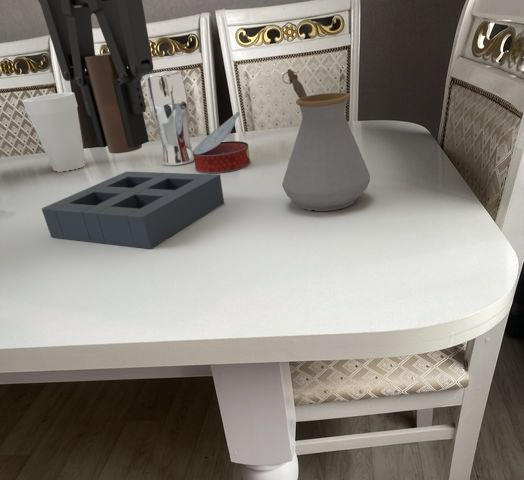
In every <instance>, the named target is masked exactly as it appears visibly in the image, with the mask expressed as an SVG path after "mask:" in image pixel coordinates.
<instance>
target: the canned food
mask: <svg viewBox="0 0 524 480" xmlns="http://www.w3.org/2000/svg"><path fill="white" fill-rule="evenodd" d="M239 116H240V112H239V111H236V112H235V114H233V115H232V116H231V117H230V118H228V119H227V120H225V121H224V122H223V123H222V124H221V125H219V127H217V128H216V129H214V130H213V131H212V132H211V133H209V134H208V135H206V137H205V138H204V139H203V140H201V141H200V142H199V143H198V144H197V145H196V147H194V149H192V150H193V156H194V161H193V162H194V167H195V171H196V172H197V173H200V174H222V173H223V174H224V173H230V172H235V171H238V170H242V169H244V168H246V167H247V166H249V165H250V164H251V156H250V148H249V143H248V142H245V141H240V140H238V141H237V140H230V141H228V140H227V141H225V140H226V139H227V138H228V136H229V135H230V134H231V132H232V131H233V129H234V127H235V124H236V122H237V121H236V120H237V118H238V117H239Z"/></svg>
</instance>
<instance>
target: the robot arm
mask: <svg viewBox="0 0 524 480" xmlns="http://www.w3.org/2000/svg"><path fill="white" fill-rule="evenodd" d="M37 1H38V3H39V5H40V7H41V11H42V14H43V18H44V20H45V24H46V27H47V30H48V34H49V37H50V40H51V43H52V47H53V50H54V54H55V56H56V60H57V63H58V67H59V70H60V72H61V76H62V78H63V80H64V81H65V82H73V83H75V84H76V85H77V86H78V87H79V89H80V91H81V95H82V100H83V102H84V106H85V110H86V113H87V115H88V116H89V117H91V120H92V124H93V128H94V132H95V135H96V139H97V143H98V147H99V148H106V147H107V143H106V139H105V135H104V131H103V128H102V124H101V120H100V116H99V112H98V108H97V104H96V100H95V97H94V93H93V89H92V85H91V81H90V77H89V73H88V69H87V66H86V62H85V58H84V57H86V56H92V55H96V49H95V41H94V40H95V39H94V32H93V31H94V30H93V22H92V15H93V14H94V15H95V18H96V20H97V22H98V23H97V24H98V25H99V28H100V30H101V34H102V36H103V39H104V41H105V44H106V47H107V49H108V53H110V55H111V58H112V60H113V63H114V66H115V68H116V71H117V74H118V76H119V79H117V80H115V81H116V83H117V84H118V85H115V88H116V92H117V96H118V100H119V104H120V109H121V113H122V117H123V121H124V125H125V130H126V134H127V138H128V142H129V147H137V146H139V145H142V146H143V145H144V144H147V143H149V142H150V139H149V135H148V129H147V126H146V121H145V120H146V119H145V116H144V113H146V111H147V110H146V109H147V105H146V102H145V101H146V100H145V97H144V92H143V87H142V78H143V77H144V76H145V75H147V74H151V73H152V72H153V71H154V61H153V56H152V50H151V45H150V39H149V34H148V32H149V31H148V27H147V21H146V15H145V10H144V4H143V0H37Z"/></svg>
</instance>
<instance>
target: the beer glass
mask: <svg viewBox="0 0 524 480" xmlns="http://www.w3.org/2000/svg"><path fill="white" fill-rule="evenodd" d="M143 77H144V84H145V92H146V97H147V98H146V99H147V102H148V107H149V111H150V114H151V118H152V120H153V122H154V126H155V128H156V130H157V133H158V136H159V140H160V144H161V148H162V163H163V165H165V166H169V167H170V166H181V165H187V164H190V163H192V162H194V156H193V150H194V149H193V148H192V144H191V139H190V119H189V112H190V111H189V102H188V95H187V90H186V86H185V82H184V77H183V73H182V70H177V69H176V70H165V71H164V70H163V71H158V72H154V73H152V72H151V73H148V74H146V75H145V76H143Z"/></svg>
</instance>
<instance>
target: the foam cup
mask: <svg viewBox="0 0 524 480" xmlns="http://www.w3.org/2000/svg"><path fill="white" fill-rule="evenodd" d="M22 104H23V107H24V110H25V114H26V116H28V118H29V121H30V122H31V124H32V126H33V128H34V131H35V133H36V135H37V137H38V139H39V141H40V144H41V147H42V148H43V151H44V153H45V155H46V157H47V159H48V161H49V164H50V166H51V168H52V170H53V171H54V172H55V171H57V172H56V173H64V172H63V171H66V172H70V171H69V170H72V171H75V170H74V169H76V170H79V169H78V168H80V169H81V167H82V168H84V167H86V165H85V164H86V158H85V157H86V156H85V151H84V144H83V143H84V142H83V137H82V131H81V123H80V117H79V111H78V107H79V105H78V102H77V99H76V95H75V92H72V91H71V92H67V91H66V92H57V93H48V94H43V95H38V96H32V97H29V98H25V99H23V100H22ZM83 166H84V167H83Z"/></svg>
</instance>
